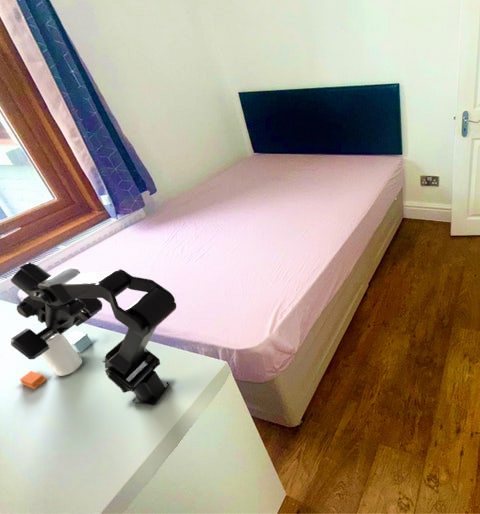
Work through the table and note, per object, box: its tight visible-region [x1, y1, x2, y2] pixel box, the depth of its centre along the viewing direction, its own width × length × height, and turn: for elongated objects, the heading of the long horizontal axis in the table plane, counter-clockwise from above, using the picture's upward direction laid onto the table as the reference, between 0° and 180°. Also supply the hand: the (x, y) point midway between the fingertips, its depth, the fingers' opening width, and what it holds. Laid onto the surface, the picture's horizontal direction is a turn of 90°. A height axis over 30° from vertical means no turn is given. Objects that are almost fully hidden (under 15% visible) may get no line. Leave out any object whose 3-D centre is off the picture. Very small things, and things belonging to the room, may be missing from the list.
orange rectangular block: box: [19, 370, 48, 390], centre depth 98 cm, size 6×3×2 cm, turn 67°
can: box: [40, 333, 83, 377], centre depth 98 cm, size 6×6×12 cm
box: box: [65, 330, 93, 354], centre depth 108 cm, size 6×4×4 cm
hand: (59, 336), depth 91 cm, fingers open, 9 cm apart
